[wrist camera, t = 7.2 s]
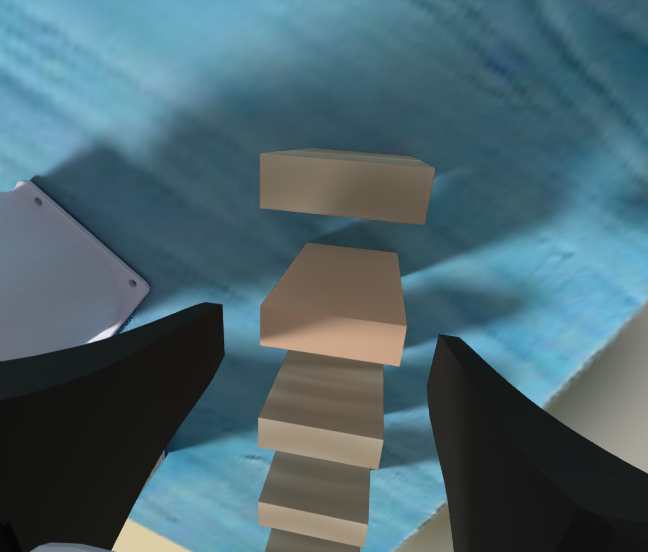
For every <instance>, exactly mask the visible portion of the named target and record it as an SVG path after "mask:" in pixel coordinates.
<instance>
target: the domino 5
mask: <svg viewBox="0 0 648 552" xmlns="http://www.w3.org/2000/svg"><path fill="white" fill-rule="evenodd" d="M265 552H360V547H358V546H354V545H349V544H345V543H340V542H335V541H331V540H326V539H322V538H317V537H313V536H308V535H303V534H299V533H294V532H290V531H285V530H280V529H276V528H272V529H271V532H270V536H269V539H268V543H267V546H266V550H265Z"/></svg>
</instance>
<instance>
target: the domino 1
mask: <svg viewBox="0 0 648 552" xmlns="http://www.w3.org/2000/svg"><path fill="white" fill-rule="evenodd" d="M434 174H435V168H434V167H432V166H430V165H428V164H426V163H425V162H423V161H421V160H419V159H417V158H415V157H413V156H405V155H393V154H381V153H369V152H357V151H345V150H332V149H320V148H305V149H295V150H285V151H276V152H266V153H260V208H265V209H274V210H284V211H293V212H303V213H312V214H322V215H331V216H341V217H350V218H360V219H369V220H379V221H388V222H398V223H407V224H417V225H425V222H426V217H427V211H428V206H429V201H430V195H431V190H432V184H433V179H434Z"/></svg>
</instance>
